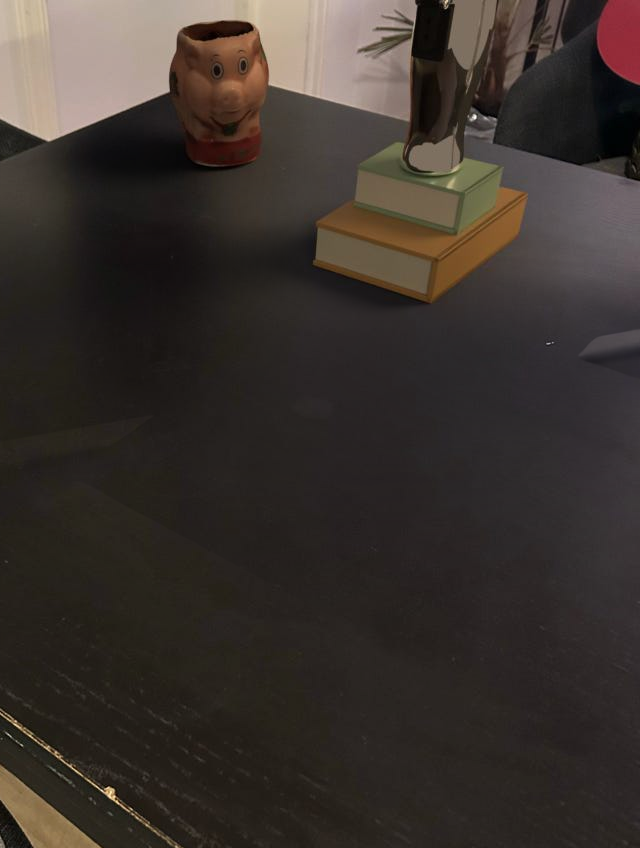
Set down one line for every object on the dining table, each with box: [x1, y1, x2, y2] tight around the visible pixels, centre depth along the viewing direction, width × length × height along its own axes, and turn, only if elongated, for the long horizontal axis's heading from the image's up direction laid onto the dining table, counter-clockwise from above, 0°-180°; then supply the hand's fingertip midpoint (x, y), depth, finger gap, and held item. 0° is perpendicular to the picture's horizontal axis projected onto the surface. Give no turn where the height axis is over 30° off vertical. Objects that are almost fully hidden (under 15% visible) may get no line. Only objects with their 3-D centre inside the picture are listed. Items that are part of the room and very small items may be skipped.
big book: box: [312, 185, 529, 304], centre depth 94 cm, size 14×18×4 cm
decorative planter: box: [168, 19, 270, 167], centre depth 112 cm, size 20×12×14 cm, turn 13°
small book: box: [353, 141, 504, 235], centre depth 91 cm, size 12×8×4 cm, turn 49°
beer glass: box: [400, 0, 498, 176], centre depth 84 cm, size 7×7×15 cm
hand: (450, 45), depth 82 cm, fingers closed on beer glass, 7 cm apart
